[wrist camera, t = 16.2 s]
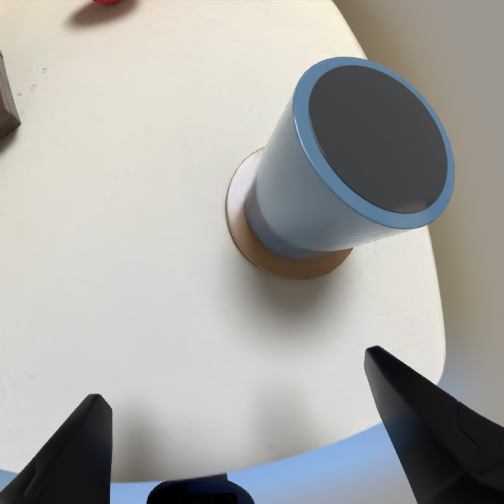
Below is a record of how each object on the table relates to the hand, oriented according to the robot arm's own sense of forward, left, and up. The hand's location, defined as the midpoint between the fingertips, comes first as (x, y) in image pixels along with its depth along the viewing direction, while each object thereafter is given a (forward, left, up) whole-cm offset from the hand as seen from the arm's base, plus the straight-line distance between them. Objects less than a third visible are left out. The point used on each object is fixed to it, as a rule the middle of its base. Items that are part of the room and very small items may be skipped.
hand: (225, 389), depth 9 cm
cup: (+8, -6, -8) cm, 13 cm away
